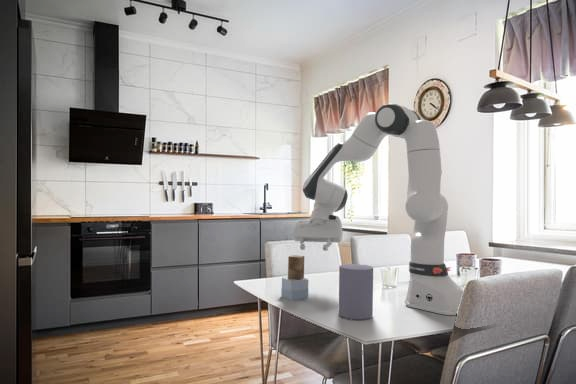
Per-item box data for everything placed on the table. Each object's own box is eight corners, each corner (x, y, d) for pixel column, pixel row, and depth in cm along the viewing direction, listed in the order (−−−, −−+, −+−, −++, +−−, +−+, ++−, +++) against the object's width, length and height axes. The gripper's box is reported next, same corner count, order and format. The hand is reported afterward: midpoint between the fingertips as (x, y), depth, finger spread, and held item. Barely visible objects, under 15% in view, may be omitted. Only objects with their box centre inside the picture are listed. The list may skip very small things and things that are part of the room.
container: (379, 316, 131) (379, 267, 131) (359, 322, 124) (360, 270, 124) (352, 309, 138) (352, 263, 138) (331, 315, 131) (332, 266, 131)
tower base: (308, 298, 153) (308, 289, 153) (291, 301, 149) (292, 291, 149) (297, 295, 159) (297, 285, 159) (281, 297, 155) (281, 287, 155)
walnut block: (303, 277, 155) (304, 256, 156) (299, 280, 151) (300, 257, 151) (292, 276, 157) (292, 255, 157) (287, 278, 153) (288, 256, 153)
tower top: (308, 289, 152) (308, 279, 152) (291, 291, 149) (291, 281, 149) (298, 285, 159) (298, 276, 159) (281, 287, 155) (281, 277, 155)
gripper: (294, 216, 177) (286, 243, 168) (342, 216, 169) (336, 245, 161) (299, 225, 181) (291, 252, 173) (345, 226, 174) (340, 254, 165)
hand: (313, 249), depth 167 cm, fingers open, 8 cm apart
